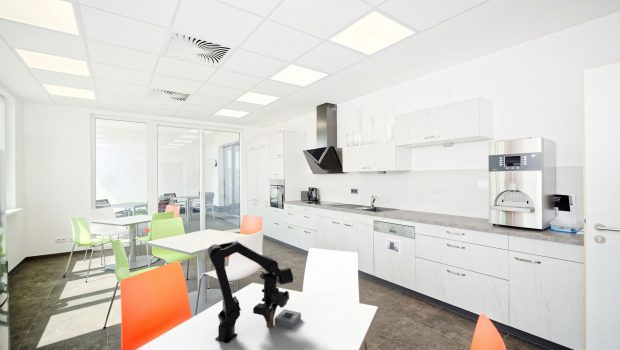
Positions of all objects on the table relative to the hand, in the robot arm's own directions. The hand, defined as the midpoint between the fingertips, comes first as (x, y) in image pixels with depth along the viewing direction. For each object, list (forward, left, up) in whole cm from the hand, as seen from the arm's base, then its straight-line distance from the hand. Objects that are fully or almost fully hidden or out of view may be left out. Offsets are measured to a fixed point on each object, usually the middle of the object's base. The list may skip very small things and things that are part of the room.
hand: (270, 321), depth 124 cm
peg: (0, 0, -2) cm, 2 cm away
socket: (+6, -6, -2) cm, 9 cm away
